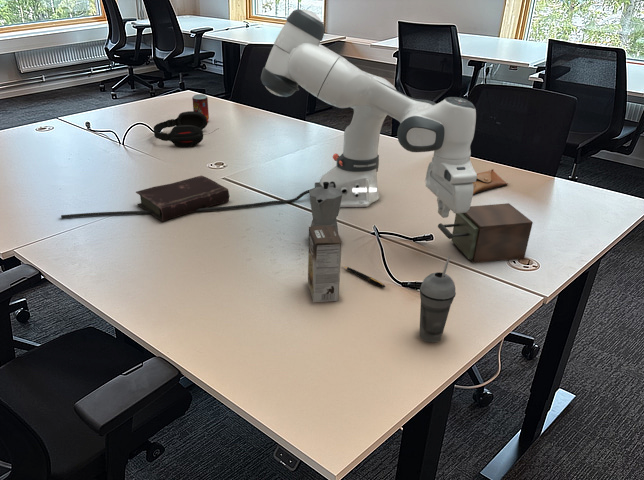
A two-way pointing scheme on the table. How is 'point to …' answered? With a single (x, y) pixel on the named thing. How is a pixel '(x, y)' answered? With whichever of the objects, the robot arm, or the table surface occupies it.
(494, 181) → the sunglasses case
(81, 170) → the table surface
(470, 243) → the drawer
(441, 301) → the beverage cup
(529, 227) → the cabinet
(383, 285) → the fountain pen
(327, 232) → the coffee box
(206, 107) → the soda can
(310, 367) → the table surface
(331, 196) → the coffeepot
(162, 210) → the diary
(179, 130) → the headset
